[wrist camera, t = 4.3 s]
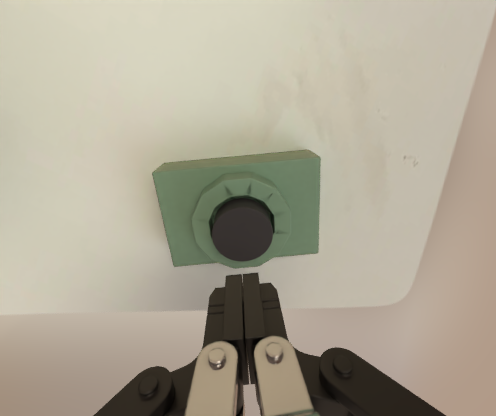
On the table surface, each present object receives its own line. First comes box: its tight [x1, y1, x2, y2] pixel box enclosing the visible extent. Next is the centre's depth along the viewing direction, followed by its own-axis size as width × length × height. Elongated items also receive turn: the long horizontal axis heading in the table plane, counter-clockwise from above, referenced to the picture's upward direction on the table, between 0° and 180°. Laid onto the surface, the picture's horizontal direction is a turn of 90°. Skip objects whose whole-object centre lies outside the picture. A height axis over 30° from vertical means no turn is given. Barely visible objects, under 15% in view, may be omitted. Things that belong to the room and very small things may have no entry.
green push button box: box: [152, 150, 321, 268], centre depth 20 cm, size 12×8×5 cm, turn 95°
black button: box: [212, 198, 273, 262], centre depth 18 cm, size 4×4×2 cm
